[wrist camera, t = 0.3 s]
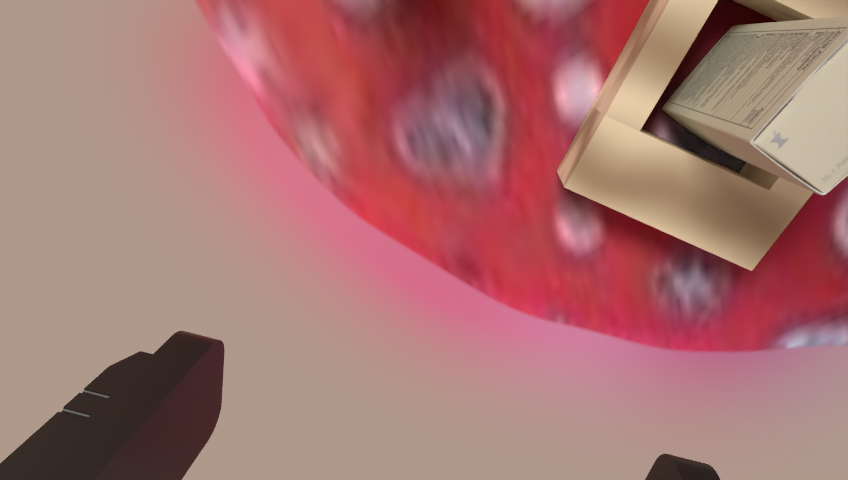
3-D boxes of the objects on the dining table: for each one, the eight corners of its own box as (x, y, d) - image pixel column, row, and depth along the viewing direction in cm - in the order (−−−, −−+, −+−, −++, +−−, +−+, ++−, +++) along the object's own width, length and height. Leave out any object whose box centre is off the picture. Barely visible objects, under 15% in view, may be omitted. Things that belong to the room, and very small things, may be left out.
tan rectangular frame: (716, -122, 28) (750, -145, 24) (923, -22, 28) (987, -29, 25) (556, 170, 35) (564, 187, 31) (724, 246, 36) (751, 271, 32)
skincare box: (709, 146, 33) (821, 205, 22) (656, 106, 33) (743, 146, 21) (788, 61, 31) (958, 79, 20) (733, 17, 30) (875, 10, 19)
